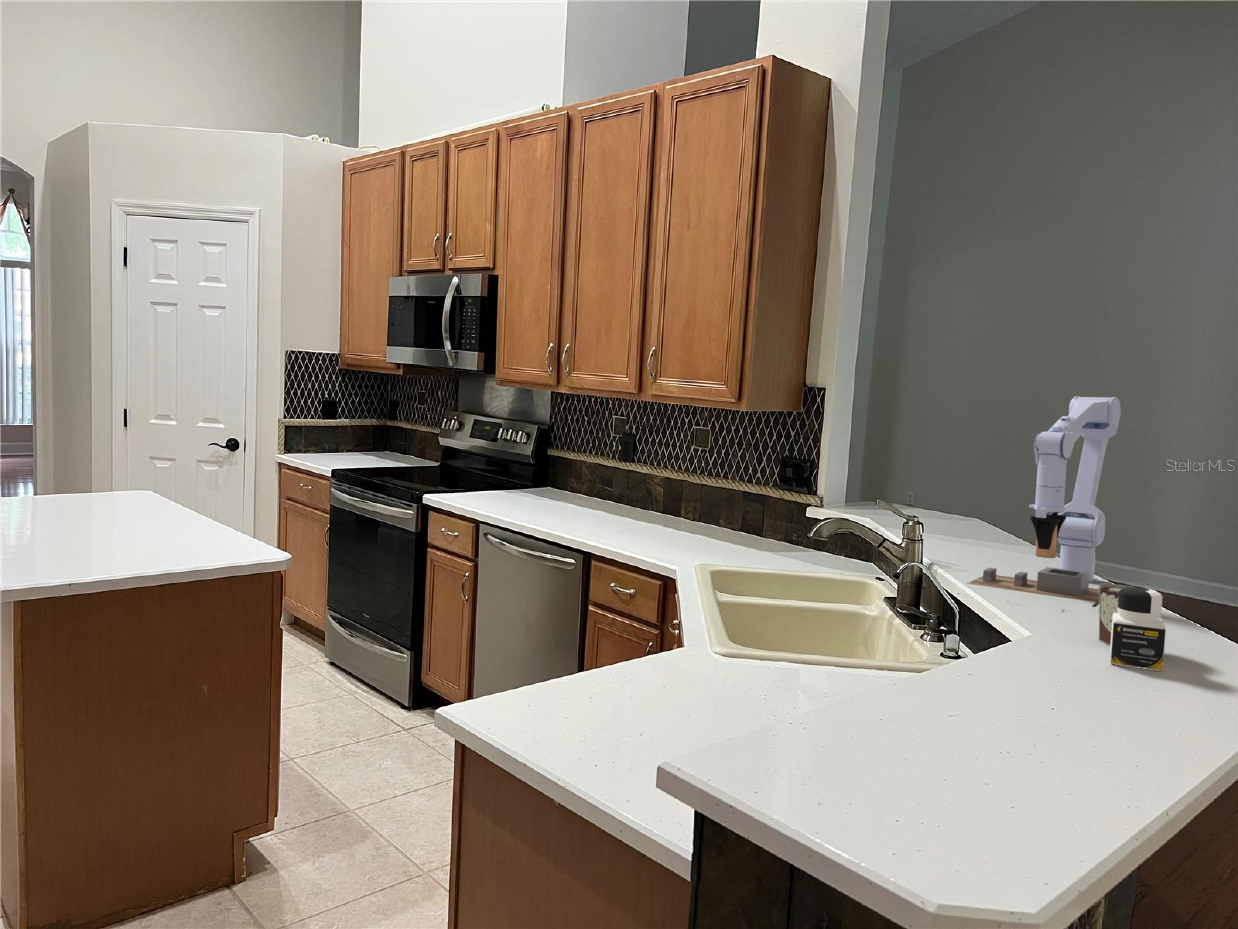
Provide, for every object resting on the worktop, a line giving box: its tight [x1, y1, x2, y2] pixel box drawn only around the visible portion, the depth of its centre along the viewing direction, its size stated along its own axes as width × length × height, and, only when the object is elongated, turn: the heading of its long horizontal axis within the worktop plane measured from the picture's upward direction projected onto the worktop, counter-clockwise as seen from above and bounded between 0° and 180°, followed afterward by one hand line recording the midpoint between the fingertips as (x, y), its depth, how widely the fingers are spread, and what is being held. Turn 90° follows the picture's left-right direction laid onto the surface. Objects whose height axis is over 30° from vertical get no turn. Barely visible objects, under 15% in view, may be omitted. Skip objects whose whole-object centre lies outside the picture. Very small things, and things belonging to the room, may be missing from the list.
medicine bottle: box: [1109, 586, 1167, 672], centre depth 144 cm, size 7×7×12 cm
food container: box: [1097, 582, 1132, 647], centre depth 154 cm, size 12×6×10 cm, turn 179°
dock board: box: [966, 567, 1100, 608], centre depth 201 cm, size 16×26×4 cm, turn 52°
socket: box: [1036, 566, 1090, 596], centre depth 198 cm, size 9×9×4 cm
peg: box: [1035, 526, 1058, 559], centre depth 200 cm, size 4×4×7 cm
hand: (1046, 548), depth 200 cm, fingers closed on peg, 4 cm apart
